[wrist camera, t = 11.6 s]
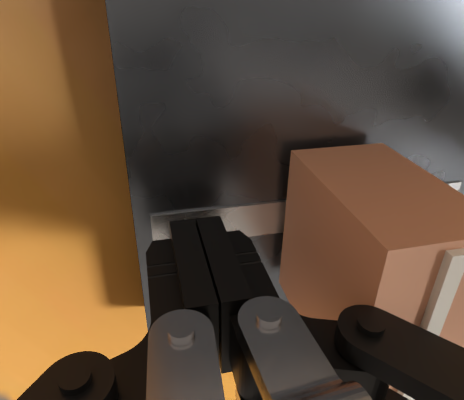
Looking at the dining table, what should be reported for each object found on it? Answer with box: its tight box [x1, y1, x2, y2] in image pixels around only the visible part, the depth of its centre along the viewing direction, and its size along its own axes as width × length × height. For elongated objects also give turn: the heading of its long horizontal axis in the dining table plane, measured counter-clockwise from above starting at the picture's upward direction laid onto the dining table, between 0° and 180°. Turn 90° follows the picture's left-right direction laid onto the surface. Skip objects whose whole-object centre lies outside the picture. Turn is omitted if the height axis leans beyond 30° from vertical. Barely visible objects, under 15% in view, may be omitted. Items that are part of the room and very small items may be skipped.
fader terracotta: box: [279, 143, 464, 400], centre depth 11 cm, size 3×5×5 cm, turn 179°
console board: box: [105, 0, 464, 330], centre depth 11 cm, size 12×20×2 cm, turn 179°
